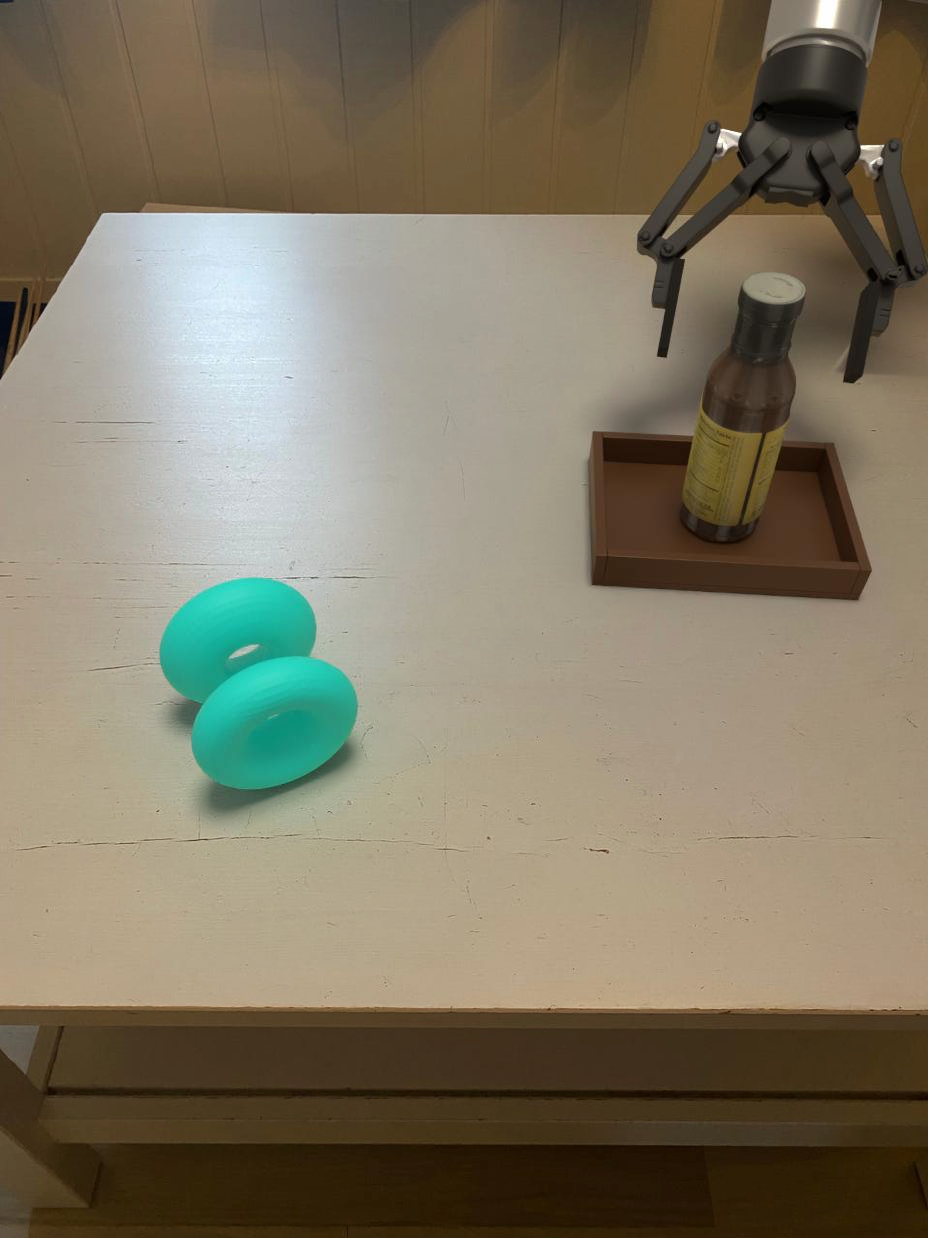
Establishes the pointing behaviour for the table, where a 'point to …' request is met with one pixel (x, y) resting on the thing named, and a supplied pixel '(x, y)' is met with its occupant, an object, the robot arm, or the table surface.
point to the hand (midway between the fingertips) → (755, 366)
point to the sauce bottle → (743, 412)
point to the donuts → (256, 684)
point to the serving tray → (759, 563)
